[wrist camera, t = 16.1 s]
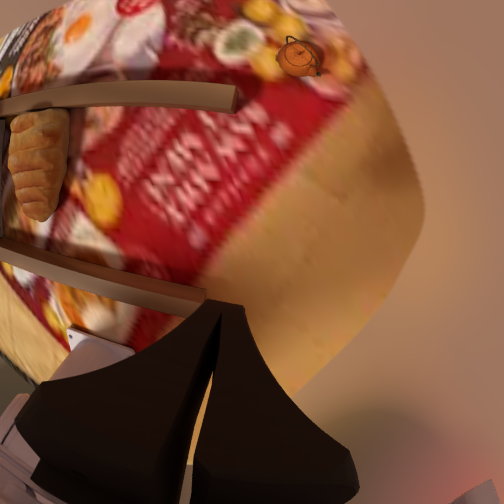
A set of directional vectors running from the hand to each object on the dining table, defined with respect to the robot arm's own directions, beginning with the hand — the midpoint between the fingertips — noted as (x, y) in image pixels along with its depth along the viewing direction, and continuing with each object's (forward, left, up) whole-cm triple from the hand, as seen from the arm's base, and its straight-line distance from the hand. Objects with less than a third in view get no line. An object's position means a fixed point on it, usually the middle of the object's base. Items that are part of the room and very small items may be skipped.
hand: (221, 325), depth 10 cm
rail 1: (+9, +15, -10) cm, 20 cm away
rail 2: (-5, +15, -10) cm, 19 cm away
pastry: (+4, +18, -10) cm, 21 cm away
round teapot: (+13, -1, -10) cm, 16 cm away
